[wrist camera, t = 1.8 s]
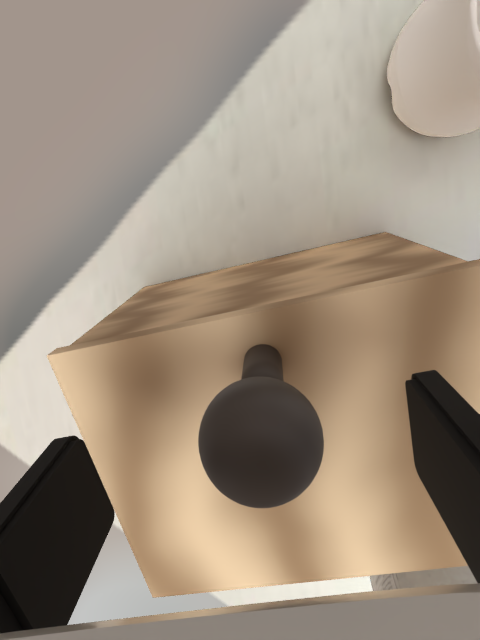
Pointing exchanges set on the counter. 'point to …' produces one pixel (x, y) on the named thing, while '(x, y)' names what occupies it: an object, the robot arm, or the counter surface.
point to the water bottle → (438, 69)
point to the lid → (277, 433)
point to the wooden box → (270, 282)
